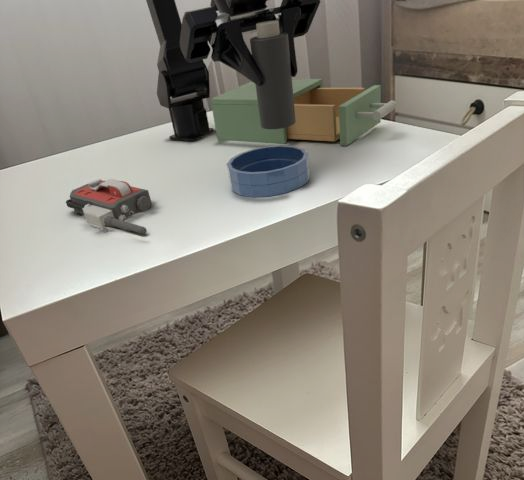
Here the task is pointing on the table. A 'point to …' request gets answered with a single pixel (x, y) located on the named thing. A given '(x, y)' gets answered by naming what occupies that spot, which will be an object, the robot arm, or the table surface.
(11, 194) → the table surface
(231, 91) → the cabinet
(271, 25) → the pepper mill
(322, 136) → the drawer
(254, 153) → the bowl
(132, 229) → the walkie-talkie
